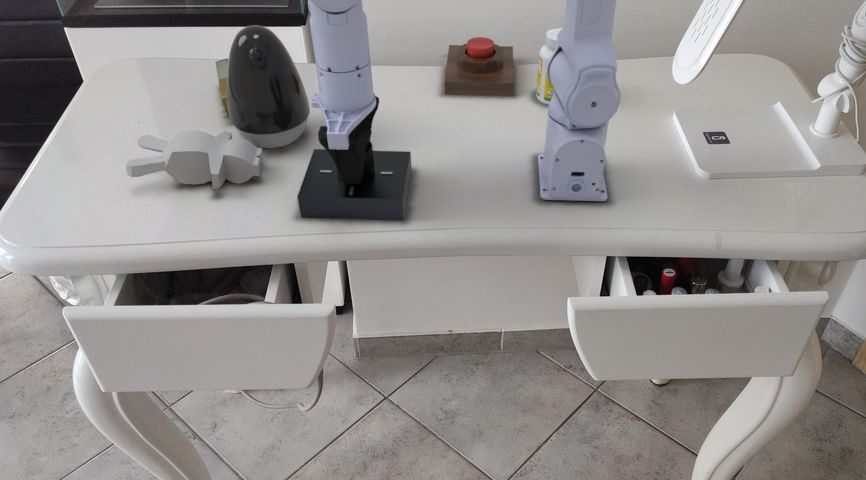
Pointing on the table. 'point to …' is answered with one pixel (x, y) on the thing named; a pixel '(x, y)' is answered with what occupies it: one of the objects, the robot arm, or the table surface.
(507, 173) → the table surface
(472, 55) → the button
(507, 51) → the button box
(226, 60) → the medication box
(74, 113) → the table surface
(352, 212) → the dial panel
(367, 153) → the dial
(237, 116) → the black glossy egg shape
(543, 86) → the supplement bottle
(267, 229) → the table surface
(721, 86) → the table surface
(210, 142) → the bunny figurine
